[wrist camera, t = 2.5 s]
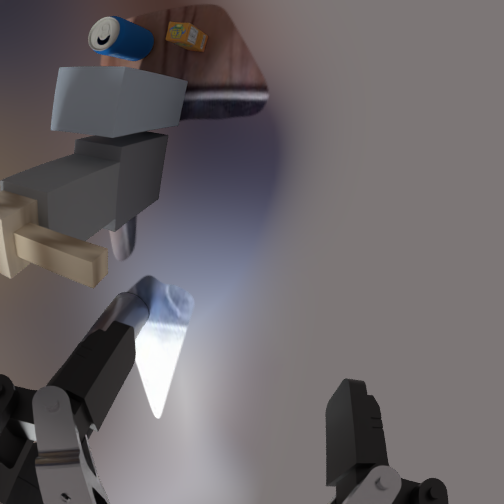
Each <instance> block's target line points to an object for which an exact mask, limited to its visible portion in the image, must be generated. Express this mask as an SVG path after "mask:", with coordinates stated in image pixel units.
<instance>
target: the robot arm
mask: <svg viewBox="0 0 504 504" xmlns="http://www.w3.org/2000/svg"><path fill="white" fill-rule="evenodd" d="M148 317H149V312H148V308H147V306H146V305H145V303H144V302H143V301H142V300H141V299H140V298H139V297H137V296H136V295H134V294H131V293H127V292H123V293H120V294H118V295H117V296H116V297H115V299H114V300H113V301H112V302H111V303H110V305H109V306H108V307H107V308H106V310H105V311H104V312H103V313H102V315H101V316H100V317H99V318H98V320H97V321H96V322H95V323H94V325H93V326H92V327H91V328H90V330H89V331H88V332H87V334H86V335H85V336H84V338H83V339H82V340H81V342H80V343H79V344H78V346H77V347H76V348H75V350H74V351H73V353H72V354H71V355H70V357H69V358H68V359H67V361H66V362H65V363H64V364H63V365H62V367H61V368H60V369H59V370H58V371H57V373H56V374H55V375H54V376H53V377H52V379H51V380H50V381H49V383H48V384H47V385H46V386H45V387H43V388H40V389H39V390H30V389H25V388H21V387H17V386H14V385H13V383H12V381H11V380H10V379H9V378H8V377H7V376H5V375H2V374H0V504H110V502H109V500H108V497H107V495H106V492H105V490H104V488H103V486H102V484H101V481H100V479H99V476H98V473H97V470H96V467H95V464H94V460H93V457H92V453H91V450H90V446H89V442H88V439H89V437H90V435H91V433H92V432H93V430H95V431H97V432H98V431H99V429H100V427H101V425H102V422H103V421H104V419H105V417H106V415H107V413H108V411H109V409H110V408H111V406H112V404H113V402H114V400H115V398H116V396H117V394H118V392H119V391H120V389H121V387H122V385H123V383H124V381H125V379H126V378H127V376H128V374H129V372H130V370H131V369H132V366H133V364H134V361H135V355H136V351H135V339H136V338H137V336H138V334H139V333H140V331H141V329H142V328H143V326H144V325H145V323H146V321H147V320H148ZM382 428H383V424H382V420H381V413H380V407H379V405H378V403H377V402H376V400H375V398H374V397H373V396H372V395H367V390H366V385H365V382H364V381H359V380H353V379H344V380H343V381H342V383H341V384H340V386H339V387H338V389H337V390H336V392H335V393H334V394H333V396H332V397H331V399H330V400H329V402H328V405H327V408H326V455H327V457H326V462H327V463H326V464H327V465H326V466H327V467H326V472H327V473H326V478H327V479H326V486H336V495H335V496H334V497H333V498H332V499H331V501H330V502H329V503H328V504H448V495H447V489H446V486H445V485H444V484H443V482H442V481H440V480H439V479H436V478H429V479H427V480H425V481H424V482H422V483H417V482H413V481H409V480H405V479H402V478H400V475H399V474H398V472H397V471H396V470H395V469H393V468H391V467H389V464H388V458H387V451H386V444H385V438H384V431H383V429H382ZM34 441H37V442H36V443H33V442H34Z"/></svg>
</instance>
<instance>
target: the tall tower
mask: <svg viewBox="0 0 504 504" xmlns="http://www.w3.org/2000/svg"><path fill="white" fill-rule="evenodd" d="M167 139H168V135H164V134H159V133H153V132H147V131H144V132H138V133H133V134H129V135H124V136H119V137H115V138H110V137H104V136H97V135H95V136H90V137H86V138H81V139H77V140H75V150H74V154H72V155H69V156H66V157H63V158H59V159H56V160H54V161H50V162H47V163H45V164H42V165H39V166H36V167H33V168H31V169H28V170H25V171H23V172H20V173H18V174H15V175H13V176H10V177H7V178H5V179H3V180H1V181H0V184H1V191H2V190H4V191H8V192H11V193H15V194H18V195H22V196H25V197H28V198H32V199H35V200H37V204H38V222H39V226H41V227H44V228H47V229H50V230H53V231H56V232H59V233H61V234H64V235H67V236H70V237H73V238H76V239H79V240H82V241H86V240H87V239H89V238H90V237H91V236H93V235H94V234H95V233H97V232H98V231H99V230H101V229H102V228H104V229H107V230H110V231H114V232H115V231H117V230H118V229H119V228H120V227H122V226H123V225H124V224H126V223H127V222H128V221H130V220H131V219H132V218H133V217H135V216H136V215H137V214H139V213H140V212H141V211H143V210H144V209H145V208H147V207H148V206H149V205H151V204H152V203H154V202H155V201H156V200H158V198H159V191H160V184H161V177H162V170H163V164H164V157H165V152H166V145H167Z"/></svg>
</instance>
